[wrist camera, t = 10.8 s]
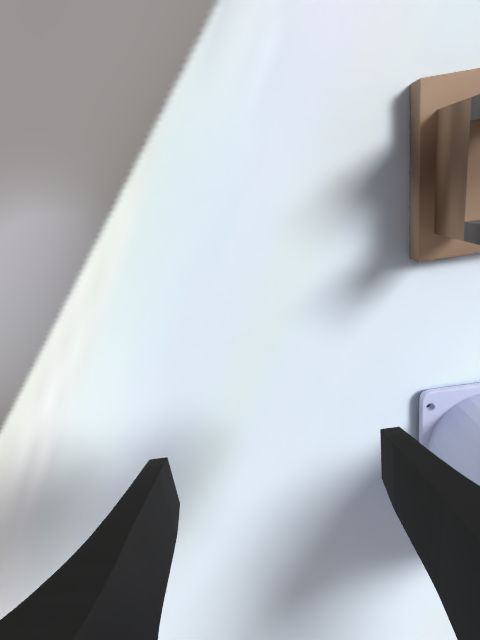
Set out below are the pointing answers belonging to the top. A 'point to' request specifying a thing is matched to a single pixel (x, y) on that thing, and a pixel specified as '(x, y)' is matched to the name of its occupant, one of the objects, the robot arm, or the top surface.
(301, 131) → the top surface
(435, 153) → the stand
